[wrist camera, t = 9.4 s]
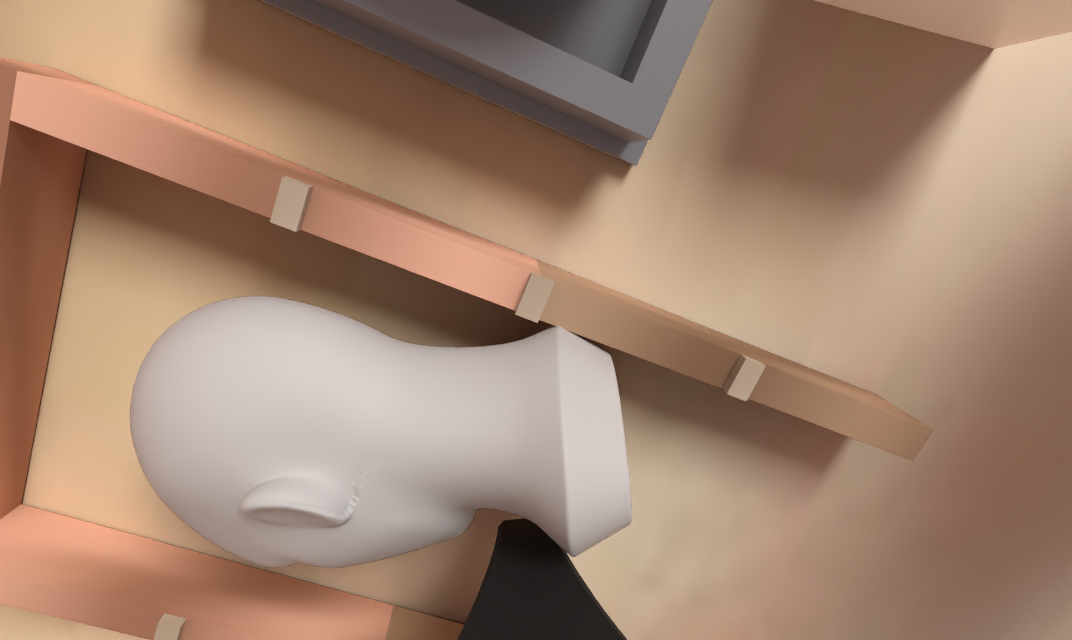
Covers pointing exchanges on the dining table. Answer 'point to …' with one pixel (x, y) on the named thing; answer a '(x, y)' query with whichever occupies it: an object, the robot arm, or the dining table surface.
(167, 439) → the smooth white sculpture
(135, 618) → the lane
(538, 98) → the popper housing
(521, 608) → the robot arm
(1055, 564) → the dining table surface
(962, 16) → the die
